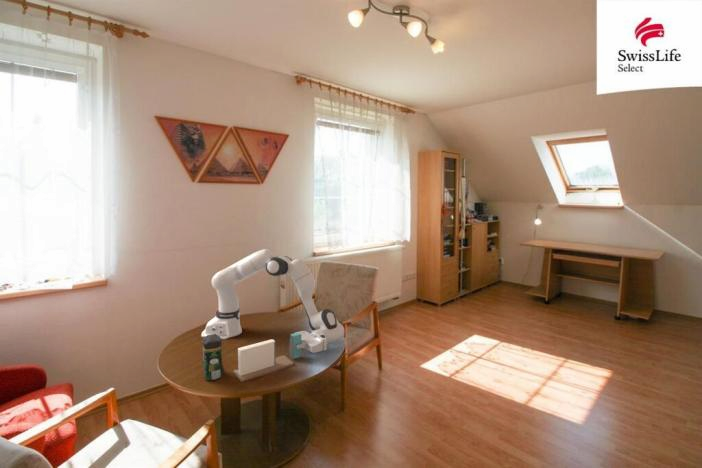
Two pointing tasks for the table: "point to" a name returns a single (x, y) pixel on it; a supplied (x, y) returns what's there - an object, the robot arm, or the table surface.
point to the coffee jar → (212, 357)
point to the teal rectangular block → (294, 340)
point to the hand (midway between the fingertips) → (294, 345)
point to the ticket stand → (259, 360)
